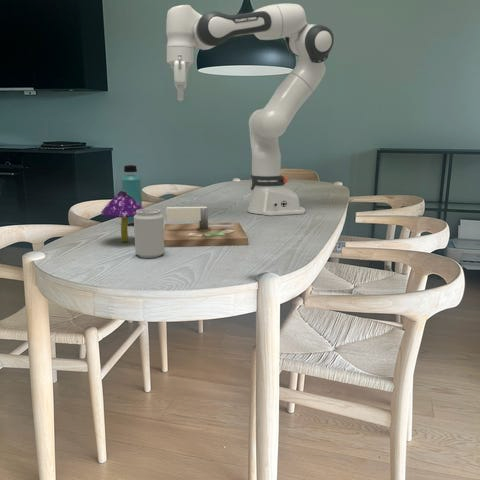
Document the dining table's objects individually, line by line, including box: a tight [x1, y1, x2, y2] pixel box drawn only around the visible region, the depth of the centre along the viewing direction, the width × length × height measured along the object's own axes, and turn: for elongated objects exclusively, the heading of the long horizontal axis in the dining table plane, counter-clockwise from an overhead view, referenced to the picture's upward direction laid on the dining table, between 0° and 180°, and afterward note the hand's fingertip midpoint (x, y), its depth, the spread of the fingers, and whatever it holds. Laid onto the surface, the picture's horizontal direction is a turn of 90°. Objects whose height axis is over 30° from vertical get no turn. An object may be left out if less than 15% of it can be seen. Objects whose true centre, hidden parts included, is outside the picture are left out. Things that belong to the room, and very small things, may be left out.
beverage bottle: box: [121, 164, 143, 223], centre depth 161 cm, size 6×7×20 cm
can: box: [133, 208, 165, 259], centre depth 125 cm, size 8×8×12 cm
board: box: [164, 222, 249, 248], centre depth 146 cm, size 24×22×2 cm
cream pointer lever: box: [166, 206, 233, 230], centre depth 146 cm, size 20×3×7 cm, turn 97°
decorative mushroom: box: [100, 190, 145, 243], centre depth 138 cm, size 12×12×15 cm
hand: (180, 101), depth 163 cm, fingers open, 8 cm apart
